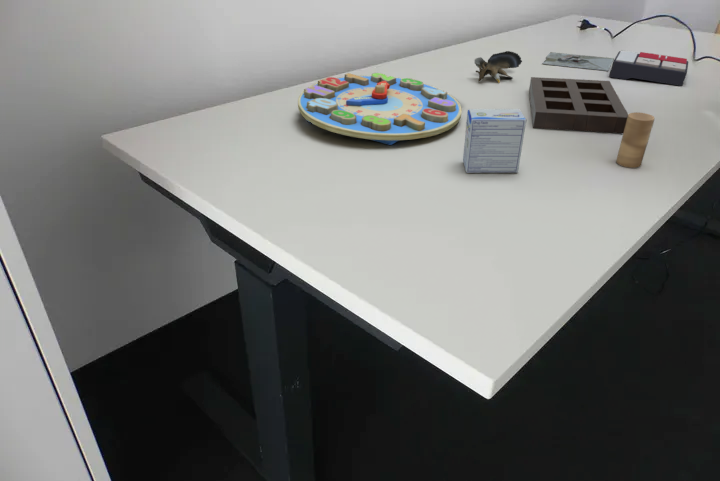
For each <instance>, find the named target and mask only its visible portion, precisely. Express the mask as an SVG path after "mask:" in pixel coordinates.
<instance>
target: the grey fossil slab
mask: <svg viewBox="0 0 720 481" xmlns="http://www.w3.org/2000/svg"><path fill="white" fill-rule="evenodd" d="M614 59H615V57H604V56H594V55H586V54H585V55H583V54H575V53H574V54H573V53H563V52H553V51H550V52H549V53H548V55H547V56H546V57H545V60H544V61H543V62H542V65H550V66H558V67H567V68H578V69H579V68H580V69H588V70H597V71H605V72H608V71H609V69H611V67H612V64H613V61H614Z"/></svg>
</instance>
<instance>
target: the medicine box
mask: <svg viewBox="0 0 720 481" xmlns="http://www.w3.org/2000/svg"><path fill="white" fill-rule="evenodd" d="M526 125H527V119H526V117H525V115H524V114H523V112H522V111H521V109H520V108H468V109H467V113H466V122H465V134H464V145H463V156H462V161H463V166H464V169H465V173H469V174H470V173H475V174H477V173H483V174H484V173H485V174H486V173H519V169H520V163H521V156H522V150H523V144H524V138H525V131H526V130H525V129H526V127H527V126H526Z"/></svg>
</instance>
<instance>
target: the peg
mask: <svg viewBox="0 0 720 481" xmlns="http://www.w3.org/2000/svg"><path fill="white" fill-rule="evenodd" d="M655 119H656V117H655V116H654V115H652V114H650V113H645V112H638V111H637V112H630V113H628V117H627V121H626V125H625V129H624V133H623V134H622V137H621V141H620V143H619V144H620V145H619V148H618V152H617V156H616V159H615V162H616V164H617V165H618V166H621V167H624V168H629V169H637V168H640V167H642V164H643V160H644V158H645V153H646V150H647V148H648V147H647V146H648V143H649V139H650V137H651V133H652V129H653V126H654V123H655Z"/></svg>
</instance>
